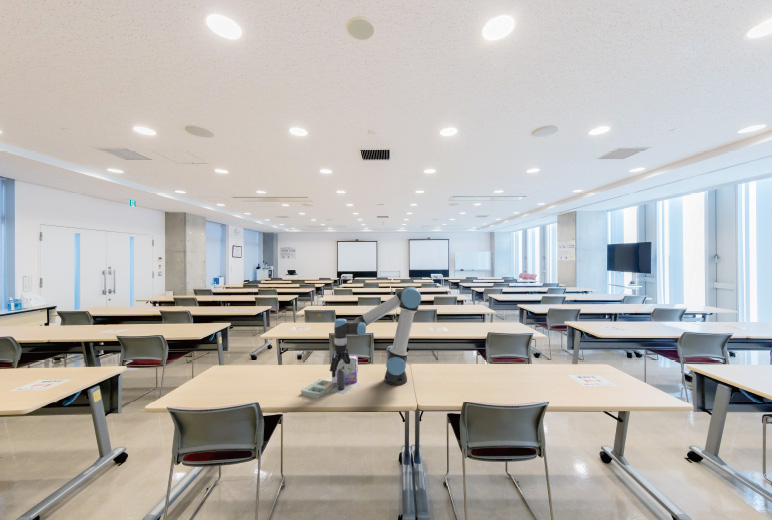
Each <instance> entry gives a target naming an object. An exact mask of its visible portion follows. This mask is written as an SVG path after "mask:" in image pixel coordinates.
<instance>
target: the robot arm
mask: <svg viewBox="0 0 772 520" xmlns="http://www.w3.org/2000/svg"><path fill="white" fill-rule="evenodd" d="M421 302H422V294H421V292H420V291H419V289H418V288H417V287H415V286H414V285H408V286H407V285H406V286H404V287H403V288H402V289H400V290H399V291H398V292H396V293H395V294H394V296H392V297H391V298H389V299H387V300H386V301H384V302H382V303H381V304H379V305H376V306H375V307H374V308H372V309H370V310H369V311H367V312H366V313H364V314H362V315H360V316H357V317H356V318H355V319H354V320H353V321H352V322H348V321H347V320H348V319H346V318H336V319H335V320H334V326H333V327H334V328H333V329H334V333H333V334H334V345H333V346H334V351H335V354H332V359H331V362H330V367H329V372H331V382H335V383H338V382H337V371H336V369H337V366H338V364H339V361H340V360H341V359H343V361H344V362H345V363H346V364H344V374H347V375H348V364H350V361H351V360H350V357H349V356H350V355H349V349H348V348H347V346H348V345H347V343H348V342H347V341H348V340H347V339H348V338H347V336H348V335H349V336H362V335H363V336H364V335H366V331H367V326H369V325H371V324H372V323H374V322H375V321H377V320H379V319H381V318H383V317H384V316H386V315H387V314H390V313H391V312H393V311H395V310H396V309H398V308H399V309H400V312H399V317H398V322H397V326H396V330H395V334H394V339H393V344H392V345H389V346H387V347H386V365H385V367H386V371H385V373H384V376H383V377H384V378H383V380H384V383H386V384H388V385H391V386H400V385H404V384H406V383H407V382H408V376H407V372H406V368H407V363H406V362H407V358H408V354H409V353H408V351H407V347H408V343H409V339H410V334H411V329H412V325H413V321H414V318H415V313H417V312H418V310H419V306H420V304H421Z"/></svg>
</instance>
